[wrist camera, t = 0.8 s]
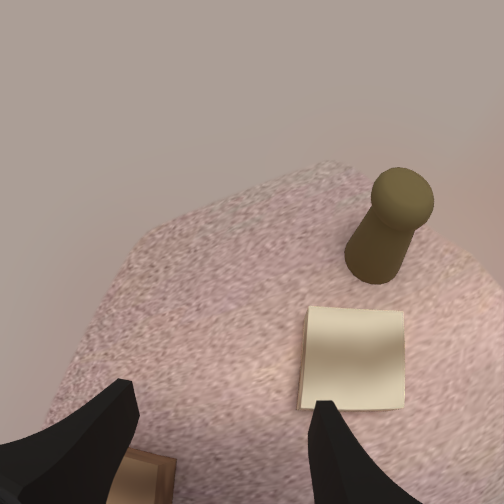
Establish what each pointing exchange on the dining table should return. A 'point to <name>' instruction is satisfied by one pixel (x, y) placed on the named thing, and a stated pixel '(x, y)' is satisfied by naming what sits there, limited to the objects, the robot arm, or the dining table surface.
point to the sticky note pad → (352, 359)
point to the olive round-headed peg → (389, 225)
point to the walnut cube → (143, 479)
